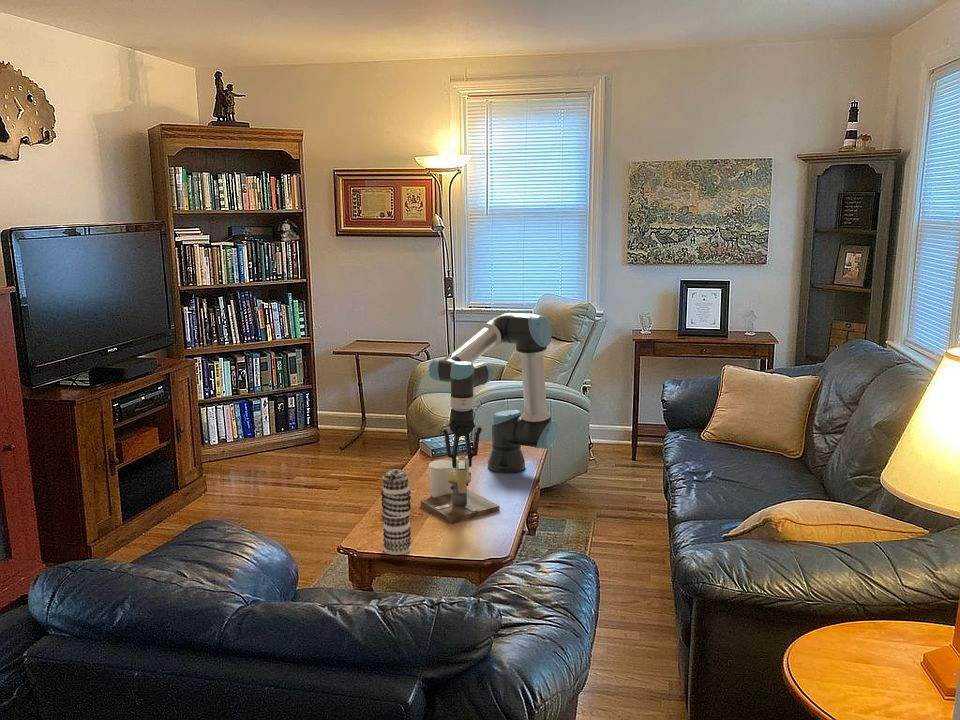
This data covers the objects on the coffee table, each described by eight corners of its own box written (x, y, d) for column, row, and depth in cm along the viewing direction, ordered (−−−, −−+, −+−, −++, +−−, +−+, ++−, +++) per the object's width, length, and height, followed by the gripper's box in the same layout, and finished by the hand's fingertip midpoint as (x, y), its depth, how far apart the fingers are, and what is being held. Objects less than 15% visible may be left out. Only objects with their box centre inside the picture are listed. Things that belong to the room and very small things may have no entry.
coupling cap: (447, 477, 279) (446, 454, 277) (469, 476, 280) (469, 453, 278) (450, 493, 263) (450, 469, 262) (474, 492, 264) (474, 468, 263)
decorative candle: (387, 557, 239) (385, 478, 234) (378, 545, 247) (376, 469, 243) (416, 552, 243) (414, 474, 238) (406, 540, 251) (404, 465, 246)
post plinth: (467, 494, 291) (467, 468, 289) (499, 511, 275) (499, 483, 273) (420, 506, 280) (420, 479, 278) (450, 524, 264) (450, 495, 262)
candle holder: (453, 500, 285) (452, 469, 283) (426, 499, 287) (425, 467, 284) (458, 491, 294) (458, 460, 292) (432, 489, 296) (432, 459, 294)
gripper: (440, 412, 256) (440, 481, 261) (487, 410, 260) (487, 478, 264) (436, 406, 264) (436, 474, 268) (483, 404, 267) (482, 471, 271)
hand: (461, 476), depth 266 cm, fingers closed on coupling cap, 3 cm apart
